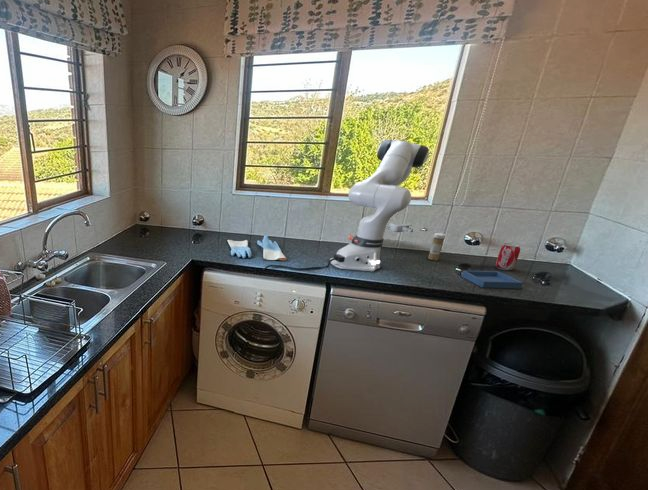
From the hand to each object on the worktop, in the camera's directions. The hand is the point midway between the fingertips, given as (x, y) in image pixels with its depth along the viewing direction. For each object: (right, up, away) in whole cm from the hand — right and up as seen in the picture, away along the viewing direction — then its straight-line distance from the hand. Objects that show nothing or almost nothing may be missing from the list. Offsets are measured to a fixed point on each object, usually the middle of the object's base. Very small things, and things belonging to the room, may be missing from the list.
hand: (419, 230), depth 212 cm
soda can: (+28, -21, -19) cm, 40 cm away
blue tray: (+7, -27, -36) cm, 45 cm away
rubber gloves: (-86, -11, +5) cm, 87 cm away
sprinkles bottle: (+3, -16, -7) cm, 17 cm away
